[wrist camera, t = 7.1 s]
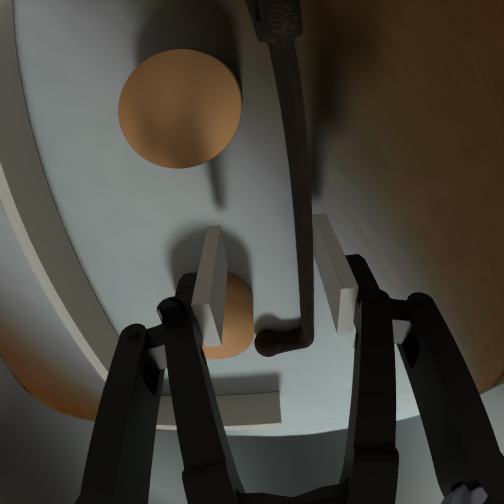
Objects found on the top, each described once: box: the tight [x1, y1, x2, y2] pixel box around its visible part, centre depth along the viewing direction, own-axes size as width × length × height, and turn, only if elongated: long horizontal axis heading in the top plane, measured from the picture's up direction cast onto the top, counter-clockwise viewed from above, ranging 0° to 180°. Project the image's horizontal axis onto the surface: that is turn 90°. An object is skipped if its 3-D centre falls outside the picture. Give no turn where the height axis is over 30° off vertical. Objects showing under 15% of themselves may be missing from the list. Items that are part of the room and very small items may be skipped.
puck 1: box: [118, 49, 242, 168], centre depth 15 cm, size 6×6×4 cm
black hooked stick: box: [245, 0, 314, 357], centre depth 18 cm, size 5×5×30 cm
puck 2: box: [196, 272, 254, 359], centre depth 23 cm, size 6×6×4 cm
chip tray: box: [0, 0, 282, 430], centre depth 19 cm, size 16×44×4 cm, turn 7°
